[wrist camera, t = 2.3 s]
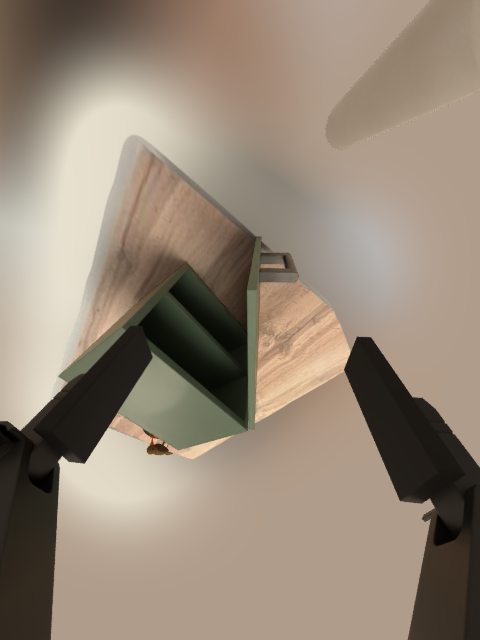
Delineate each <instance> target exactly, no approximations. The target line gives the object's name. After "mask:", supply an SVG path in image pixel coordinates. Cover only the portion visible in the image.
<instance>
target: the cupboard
mask: <svg viewBox="0 0 480 640" xmlns="http://www.w3.org/2000/svg"><path fill="white" fill-rule="evenodd" d="M130 326H142V328H143V331H144V334H145V337H146V339H147V342H148V345H149V348H150V351H151V353H152V356H153V358H152V360H151V361H150V363H149V364H148V366H147V368H146V369H145V371H144V372H143V374H142V375H141V377H140V378H139V380H138V382H137V383H136V385H135V386H134V388H133V389H132V391H131V392H130V394H129V396H128V397H127V399H126V400H125V402H124V403H123V405H122V406H121V408H120V410H119V411H118V414H120V415H122V416H123V417H125V418H127V419H128V420H130V421H131V422H133V423H135V424H136V425H138V426H140V427H141V428H143V429H144V430H146V431H148V432H149V433H151V434H153V435H154V436H156V437H157V438H159V439H161V440H162V441H164V442H166V443H167V444H169V445H170V446H172V447H174V448H175V449H177V450H181V449H184V448H188V447H192V446H195V445H199V444H203V443H206V442H210V441H214V440H217V439H221V438H224V437H228V436H232V435H235V434H239V433H243V432H246V431H248V421H249V417H248V338H247V332H246V330H245V329H244V328H243V327H242V326H241V325H240V323H239V322H238V321H237V320H236V319H235V318H234V317H233V315H232V314H231V313H230V312H229V311H228V310H227V308H226V307H225V306H224V305H223V304H222V303H221V301H220V300H219V299H218V298H217V297H216V296H215V294H214V293H213V292H212V291H211V290H210V289H209V288H208V286H207V285H206V284H205V283H204V282H203V281H202V279H201V278H200V277H199V276H198V275H197V274H196V272H195V271H194V270H193V269H192V268H191V267H190V266H189V264H188V263H187V262H186V263H185V264H184V265H183V266H181V267H180V268H179V269H178V270H176V271H175V272H174V273H173V274H172V275H170V276H169V277H168V278H167V279H165V280H164V281H163V282H162V283H161V284H159V285H158V286H157V287H156V288H154V289H153V290H152V291H151V292H150V293H148V294H147V295H146V296H145V297H144V298H142V299H141V300H140V301H139V302H138V303H136V304H135V305H134V306H133V307H132V308H131V309H130V310H129V311H128V312H127V313H126V314H125V315H124V316H122V317H121V318H120V319H119V320H118V321H117V322H116V323H115V324H114V325H113V326H112V327H111V328H110V329H108V330H107V331H106V332H105V333H104V334H103V335H102V336H101V337H100V338H99V339H98V340H97V341H96V342H95V343H93V344H92V345H91V346H90V347H89V348H88V349H87V350H86V351H85V352H84V353H83V354H82V355H81V356H79V357H78V358H77V359H76V360H75V361H74V362H73V363H72V364H71V365H70V366H69V367H68V368H67V369H65V370H64V371H63V372H62V373H61V374H60V375H59V376H58V377H60V378H62V379H63V380H65V381H66V382H68V383H69V382H70V381H71V380H72V379H74V378H75V377H77V376H78V375H80V374H85V373H86V372H87V371H88V370H89V369H90V368H91V367H92V366H93V365H94V364H95V363H96V362H97V361H98V360H99V359H100V358H101V356H102V355H103V354H104V353H105V352H106V351H107V350H108V349H109V348H110V347H111V346H112V345H113V344H114V343H115V342H116V341H117V340H118V338H119V337H120V336H121V335H122V334H123V333H124V332H125V331H126V330H127V329H128V328H129V327H130Z"/></svg>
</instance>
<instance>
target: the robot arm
mask: <svg viewBox="0 0 480 640" xmlns="http://www.w3.org/2000/svg"><path fill="white" fill-rule="evenodd" d="M152 358H153V356H152V353H151V351H150V348H149V345H148V342H147V339H146V337H145V334H144V331H143V328H142V326H130V327H129V328H128V329H127V330H126V331H125V332H124V333H123V334H122V335H121V336H120V337H119V338H118V340H117V341H116V342H115V343H114V344H113V345H112V346H111V347H110V348H109V349H108V350H107V351H106V352H105V353H104V354H103V355H102V356H101V358H100V359H99V360H98V361H97V362H96V363H95V364H94V365H93V366H92V367H91V368H90V369H89V370H88V371H87V372H86V373H85V374H80V375H78V376H77V377H75V378H74V379H72V380H71V381H70V382H69V383H68V384H67V385H66V386H65V387H64V388H63V389H62V390H61V392H59V393H58V394H57V395H56V396H55V397H54V399H53V400H51V401H50V402H49V403H48V404H47V405H46V406H45V407H44V408H43V409H42V410H41V411H40V412H39V413H38V414H37V415H36V416H35V417H34V418H33V419H32V420H31V421H30V422H29V423H28V424H27V425H26V426H25V427H24V428H23V429H22V430H21V431H19V430H18V429H17V428H16V427H14V426H13V425H12V424H11V423H9V422H8V421H0V640H51V621H52V604H53V585H54V565H55V547H56V529H57V509H58V490H59V472H60V467H59V463H58V461H59V459H60V458H61V457H62V456H63V457H64V458H65V459H67V460H68V461H69V462H76V463H85V462H86V461H87V459H88V458H89V456H90V455H91V453H92V451H93V450H94V448H95V447H96V445H97V444H98V442H99V441H100V439H101V438H102V436H103V434H104V433H105V431H106V430H107V428H108V427H109V425H110V424H111V422H112V420H113V419H114V417H115V416H116V414H117V413H118V411H119V410H120V408H121V406H122V405H123V403H124V402H125V400H126V399H127V397H128V396H129V394H130V392H131V391H132V389H133V388H134V386H135V385H136V383H137V382H138V380H139V378H140V377H141V375H142V374H143V372H144V371H145V369H146V368H147V366H148V364H149V363H150V361H151V360H152ZM344 371H345V373H346V375H347V378H348V380H349V382H350V385H351V387H352V389H353V392H354V394H355V396H356V399H357V401H358V403H359V406H360V408H361V410H362V413H363V415H364V417H365V420H366V422H367V424H368V427H369V429H370V432H371V434H372V436H373V439H374V441H375V443H376V446H377V448H378V450H379V453H380V455H381V457H382V460H383V462H384V464H385V467H386V469H387V471H388V474H389V476H390V478H391V481H392V483H393V485H394V488H395V490H396V492H397V495H398V497H399V500H400V501H404V502H413V503H423V502H425V501H426V500H428V499H429V498H430V499H431V501H432V503H433V505H434V507H435V509H433V510H431V511H429V512H428V513H426V514H424V516H423V518H422V519H423V520H424V521H425V522H426V521H428V520H430V519H431V520H430V526H429V531H428V537H427V542H426V547H425V552H424V557H423V563H422V568H421V573H420V578H419V584H418V589H417V595H416V600H415V605H414V610H413V615H412V621H411V626H410V631H409V636H408V640H480V467H479V466H478V465H477V463H476V462H475V461H474V459H473V458H472V457H471V455H470V454H469V453H468V452H467V450H466V449H465V447H464V446H463V445H462V444H461V442H460V441H459V440H458V438H457V437H456V436H455V435H454V434H453V433H452V430H451V429H450V428H449V426H448V425H447V424H445V421H444V420H443V418H442V417H441V416H440V414H439V413H438V412H437V410H436V409H435V408H434V407H432V406H431V405H430V404H429V403H428V402H427V401H425V400H424V399H423V398H414V397H412V396H411V395H410V393H409V392H408V390H407V389H406V387H405V386H404V384H403V383H402V382H401V380H400V379H399V377H398V376H397V374H396V373H395V371H394V370H393V369H392V367H391V366H390V364H389V363H388V361H387V360H386V359H385V357H384V355H383V354H382V353H381V351H380V350H379V348H378V347H377V345H376V344H375V342H374V341H373V340H372V338H371V337H357V338H356V341H355V343H354V346H353V348H352V351H351V353H350V356H349V358H348V361H347V363H346V366H345V369H344Z"/></svg>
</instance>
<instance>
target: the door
mask: <svg viewBox="0 0 480 640" xmlns="http://www.w3.org/2000/svg"><path fill="white" fill-rule="evenodd" d="M261 264H284V265H285V269H275V268H261ZM298 278H299V276H298V273H297V270H296V267H295V264H294V262H293V259H292V256H291V254H290V253H261V237H256V242H255V247H254V253H253V258H252V264H251V270H250V275H249V281H248V287H247V338H248V417H249V429H254V427H255V406H256V385H257V363H258V342H259V307H260V282H296V281H297V280H298Z"/></svg>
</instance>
